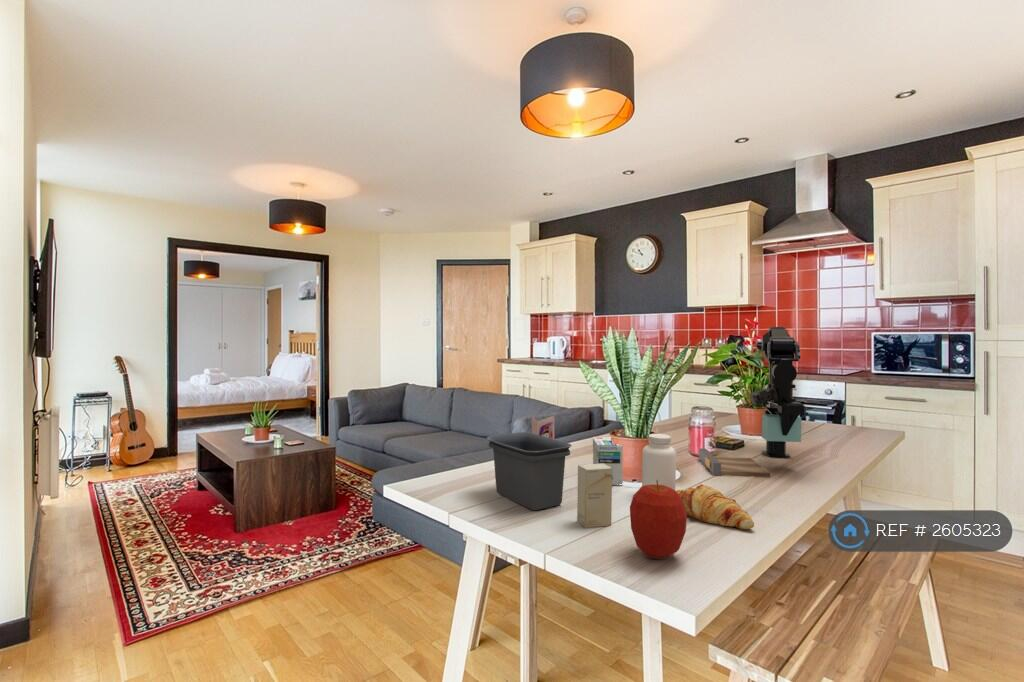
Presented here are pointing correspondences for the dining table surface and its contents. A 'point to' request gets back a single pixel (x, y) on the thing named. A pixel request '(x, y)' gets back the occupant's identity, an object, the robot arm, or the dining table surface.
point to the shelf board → (741, 467)
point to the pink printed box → (543, 427)
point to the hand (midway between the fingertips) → (781, 433)
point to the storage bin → (529, 468)
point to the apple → (658, 520)
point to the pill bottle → (659, 462)
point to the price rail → (710, 461)
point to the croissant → (714, 507)
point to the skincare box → (594, 495)
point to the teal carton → (779, 429)
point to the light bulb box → (609, 457)
